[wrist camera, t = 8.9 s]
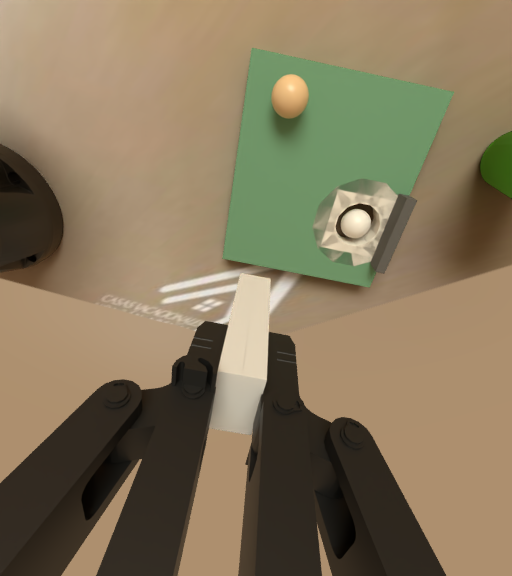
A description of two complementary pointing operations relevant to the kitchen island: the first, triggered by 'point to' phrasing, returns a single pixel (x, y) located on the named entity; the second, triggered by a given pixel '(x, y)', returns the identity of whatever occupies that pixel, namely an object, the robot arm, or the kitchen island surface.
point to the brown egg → (290, 96)
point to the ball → (355, 223)
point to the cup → (498, 164)
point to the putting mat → (327, 168)
